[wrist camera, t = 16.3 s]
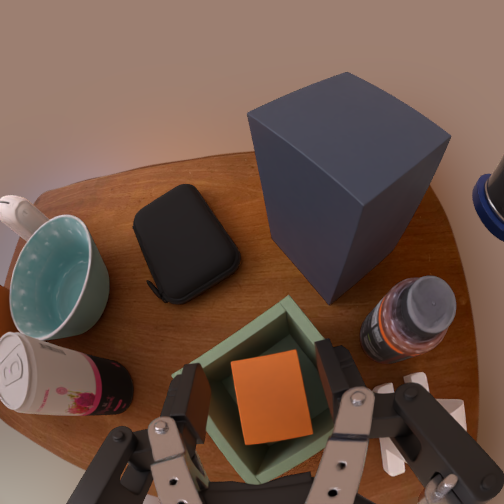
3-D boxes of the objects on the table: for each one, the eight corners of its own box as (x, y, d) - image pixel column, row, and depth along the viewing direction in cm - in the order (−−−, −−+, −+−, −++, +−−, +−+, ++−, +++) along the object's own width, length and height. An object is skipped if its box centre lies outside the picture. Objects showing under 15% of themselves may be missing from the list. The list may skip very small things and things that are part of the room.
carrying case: (129, 228, 36) (168, 320, 29) (118, 217, 33) (156, 313, 26) (194, 187, 37) (250, 269, 30) (187, 172, 34) (245, 256, 28)
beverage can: (143, 405, 25) (38, 403, 12) (103, 419, 24) (0, 417, 11) (124, 352, 28) (23, 317, 15) (86, 370, 27) (-12, 344, 14)
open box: (291, 324, 27) (289, 294, 18) (349, 398, 23) (378, 406, 14) (212, 379, 26) (170, 374, 17) (267, 454, 21) (251, 490, 12)
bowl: (145, 324, 29) (102, 302, 22) (59, 370, 28) (13, 358, 20) (116, 226, 36) (84, 192, 29) (44, 276, 35) (9, 254, 28)
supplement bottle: (421, 329, 24) (479, 295, 14) (389, 376, 23) (442, 367, 13) (380, 296, 27) (421, 245, 17) (346, 340, 25) (376, 312, 15)
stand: (335, 194, 33) (347, 71, 18) (393, 250, 29) (451, 135, 14) (271, 238, 32) (246, 112, 17) (329, 305, 27) (364, 205, 12)
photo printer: (69, 233, 38) (21, 189, 27) (59, 256, 36) (6, 215, 25) (41, 226, 40) (-1, 189, 29) (31, 247, 39) (-14, 211, 28)
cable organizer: (417, 371, 22) (469, 360, 13) (429, 453, 18) (480, 474, 9) (370, 388, 23) (409, 389, 14) (383, 472, 18) (420, 507, 9)
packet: (296, 360, 24) (296, 348, 15) (307, 414, 22) (313, 434, 13) (254, 368, 25) (230, 361, 16) (264, 422, 22) (244, 445, 13)
